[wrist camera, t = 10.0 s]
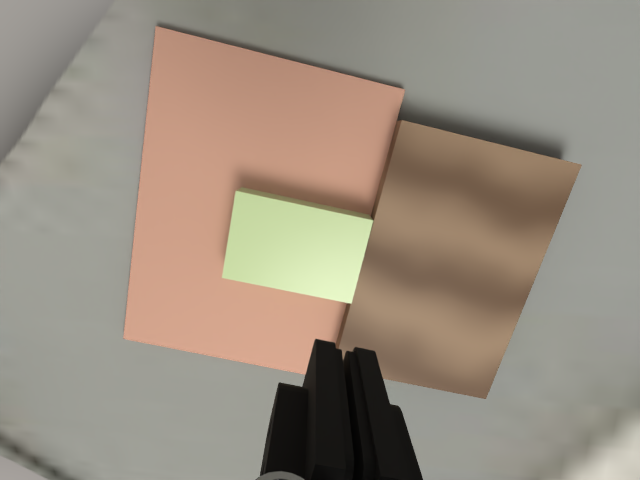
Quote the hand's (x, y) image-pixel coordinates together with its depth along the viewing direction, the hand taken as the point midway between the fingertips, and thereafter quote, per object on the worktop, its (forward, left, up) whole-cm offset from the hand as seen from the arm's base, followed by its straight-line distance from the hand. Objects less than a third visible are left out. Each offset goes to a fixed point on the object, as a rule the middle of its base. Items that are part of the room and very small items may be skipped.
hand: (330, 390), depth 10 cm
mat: (0, -5, -17) cm, 18 cm away
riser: (0, +9, -17) cm, 19 cm away
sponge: (+1, -2, -15) cm, 15 cm away
